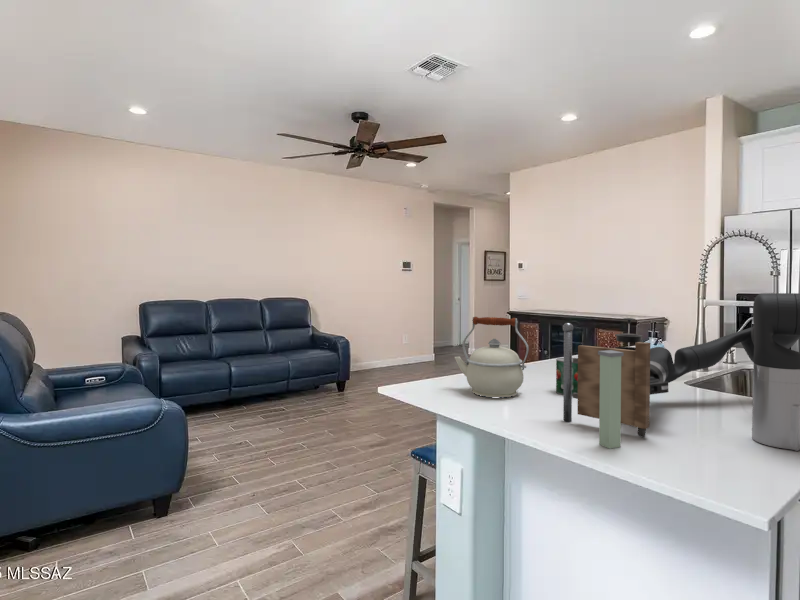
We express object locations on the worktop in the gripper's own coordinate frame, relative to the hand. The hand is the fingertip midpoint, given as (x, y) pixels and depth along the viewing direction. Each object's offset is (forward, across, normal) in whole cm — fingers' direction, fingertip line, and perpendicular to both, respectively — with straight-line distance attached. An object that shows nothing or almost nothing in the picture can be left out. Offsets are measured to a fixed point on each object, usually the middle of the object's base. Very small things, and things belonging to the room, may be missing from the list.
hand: (631, 392), depth 107 cm
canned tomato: (-31, +26, -11) cm, 42 cm away
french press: (-61, +15, -13) cm, 64 cm away
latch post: (+12, +2, -9) cm, 15 cm away
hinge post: (-1, +16, -10) cm, 18 cm away
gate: (+1, +5, -9) cm, 11 cm away
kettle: (-15, +46, -10) cm, 50 cm away
